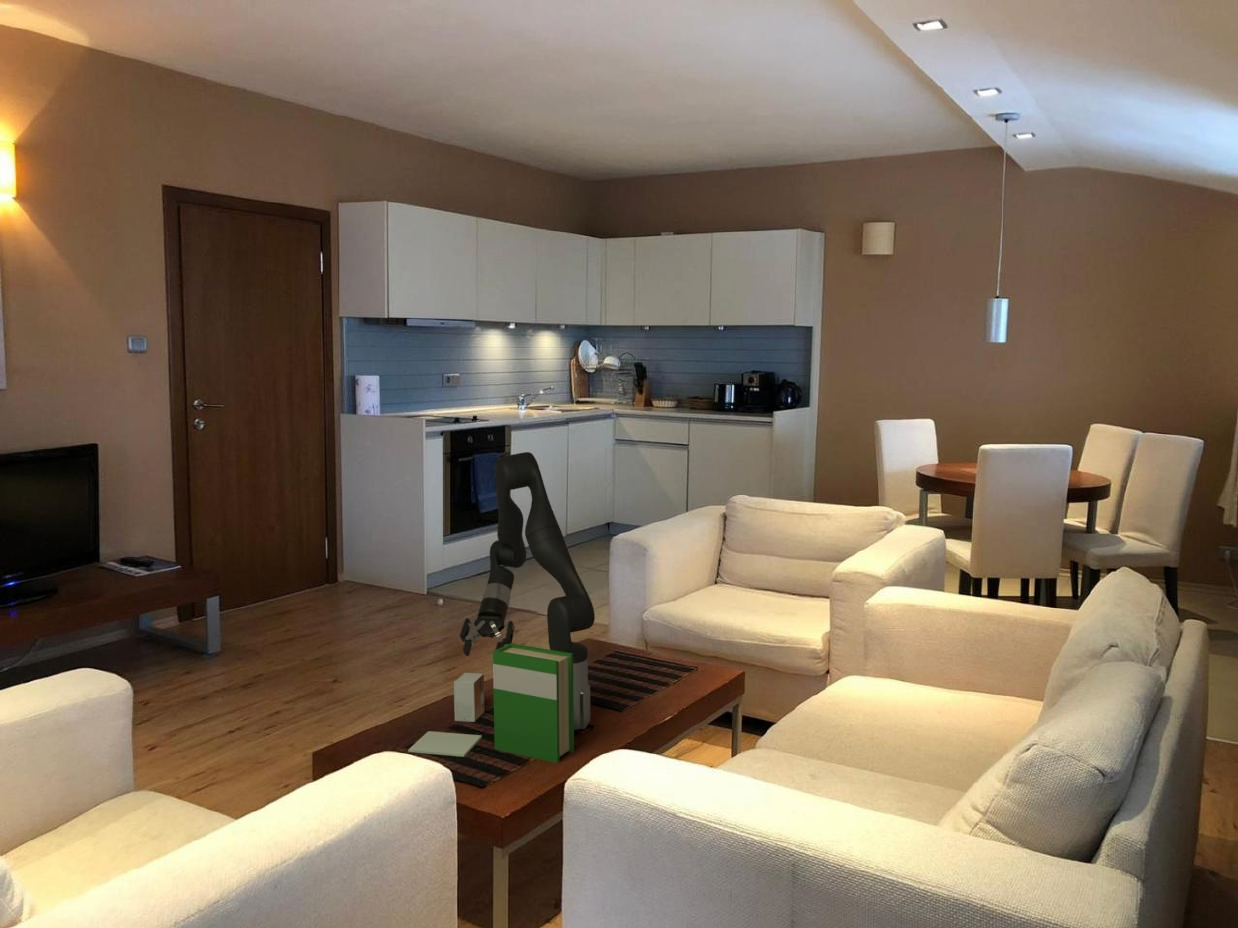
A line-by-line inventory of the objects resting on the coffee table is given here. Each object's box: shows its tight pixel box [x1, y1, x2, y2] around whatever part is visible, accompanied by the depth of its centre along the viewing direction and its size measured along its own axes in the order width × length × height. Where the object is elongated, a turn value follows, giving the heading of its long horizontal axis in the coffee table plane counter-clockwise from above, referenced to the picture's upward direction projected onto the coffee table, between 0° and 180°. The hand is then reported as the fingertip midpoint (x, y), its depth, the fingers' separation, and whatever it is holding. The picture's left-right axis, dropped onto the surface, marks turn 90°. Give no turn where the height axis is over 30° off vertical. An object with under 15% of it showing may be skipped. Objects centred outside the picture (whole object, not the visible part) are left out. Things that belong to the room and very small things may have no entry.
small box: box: [453, 672, 485, 723], centre depth 261 cm, size 8×6×10 cm
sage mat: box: [407, 730, 483, 758], centre depth 243 cm, size 14×12×1 cm
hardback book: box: [492, 642, 575, 764], centre depth 238 cm, size 18×7×24 cm, turn 62°
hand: (481, 655), depth 269 cm, fingers open, 8 cm apart
